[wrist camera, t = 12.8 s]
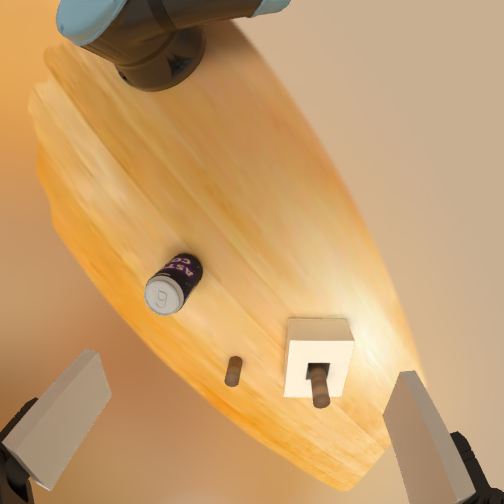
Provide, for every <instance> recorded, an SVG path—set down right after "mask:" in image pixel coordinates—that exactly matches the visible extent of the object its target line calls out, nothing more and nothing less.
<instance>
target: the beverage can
mask: <svg viewBox="0 0 504 504" xmlns="http://www.w3.org/2000/svg"><path fill="white" fill-rule="evenodd" d="M202 273H203V271H202V266H201V264H200V262H199V261H198V260H197V259H196V258H195V257H194V256H192V255H189V254H179V255H177V256H175V257H174V258H173V259H172V260H171V261H169V262H168V263H167V264H166V265H165V266H164V267H163V268H162V269H161V270H159V271H158V272H157V273H156V274H155V275H154V276H153V277H152V278H151V279H149V281H148V282H147V284H146V288H145V292H144V298H145V302H146V304H147V306H148V307H149V308H150V309H151V310H152V311H153V312H155V313H156V314H159V315H163V316H167V315H171V314H173V313H176V312H178V311H179V310H180V309H181V308H182V307H183V305H184V304H185V302H186V301H187V299H188V298H189V296H190V295H191V293H192V292H193V290H194V289H195V287H196V286H197V284H198V283H199V281H200V280H201V278H202Z"/></svg>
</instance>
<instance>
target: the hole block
mask: <svg viewBox="0 0 504 504" xmlns="http://www.w3.org/2000/svg"><path fill="white" fill-rule="evenodd" d="M354 342H355V340H354V337H353V335H352V333H351V330H350V328H349V325H348V323H347V321H346V319H307V318H289V319H288V331H287V342H286V353H285V363H284V397H313V396H312V387H311V378H310V370H309V363H323V365H324V371H325V376H326V381H327V387H328V392H329V397H341V394H342V391H343V387H344V383H345V379H346V376H347V372H348V368H349V364H350V360H351V355H352V351H353V347H354Z"/></svg>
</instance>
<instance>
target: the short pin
mask: <svg viewBox="0 0 504 504" xmlns="http://www.w3.org/2000/svg"><path fill="white" fill-rule="evenodd" d="M241 367H242V359H241V358H239V357H236V356H234V357H231V358H230V361H229V365H228V369H227V373H226V377H225V384H226V385H228V386H230V387H235V386H237V385H238V383H239V378H240V372H241Z"/></svg>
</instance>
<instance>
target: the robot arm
mask: <svg viewBox="0 0 504 504" xmlns="http://www.w3.org/2000/svg"><path fill="white" fill-rule="evenodd" d="M290 1H291V0H61V2H60V4H59V6H58V10H57V14H56V24H57V28H58V31H59V32H60V33H61V34H62V35H63V36H64V37H66V38H67V39H69V40H71V41H72V43H73V44H75V45H77V46H80V47H82V48H84V49H86V50H88V51H90V52H92V53H95V54H97V55H99V56H101V57H103V58H105V59H107V60H108V61H110V62H112V63H114V65H115V67H116V69H117V71H118V73H119V75H120V76H121V78H122V79H123V80H124V81H125V82H126V83H128V84H129V85H131V86H133V87H135V88H137V89H139V90H143V91H160V90H164V89H168V88H170V87H172V86H174V85H176V84H178V83H180V82H181V81H183V80H184V79H185V78H187V77H188V76H189V75H190V74H191V73H192V72H193V71H194V70H195V68H196V67H197V66H198V64H199V62H200V61H201V58H202V56H203V53H204V49H205V38H204V34H203V32H202V30H201V28H200V27H199V25H204V24H208V23H213V22H218V21H223V20H228V19H234V18H240V17H247V18H252V17H255V16H257V15H262V14H269V13H275V12H279V11H281V10H282V9H284V8H285V7H287V5H288V4H289V3H290ZM111 396H112V393H111V390H110V387H109V384H108V382H107V379H106V376H105V373H104V369H103V366H102V363H101V360H100V356H99V353H98V352H97V351H92V350H89V349H85V350H84V351H83V352H82V353H81V354H80V355H79V356H78V357H77V358H76V359H75V360H74V361H73V362H72V363H71V364H70V365H69V366H68V368H67V369H66V370H65V371H64V372H63V373H62V374H61V375H60V376H59V377H58V378H57V379H56V380H55V382H54V383H53V384H52V385H51V386H50V387H49V388H48V389H47V390H46V391H45V393H44V394H43V395H42V396H41V397H40V398H39V399H38V398H34V399H32V400H30V401H29V402H27V403H26V404H25V405H24V406H23V407H22V408H21V410H20V412H18V413H17V414H16V415H15V417H13V418H12V419H11V421H10V422H9V423H8V424H7V425H6V426H5V428H4V429H3V430H2V431H1V432H0V504H34V499H33V494H32V489H31V484H30V482H29V480H28V478H29V477H30V476H31V477H32V478H33V480H34V481H35V482H36V483H37V484H39V485H41V486H42V487H44V488H46V489H47V490H49V491H51V490H52V489H53V487H54V485H55V484H56V482H57V480H58V479H59V477H60V475H61V474H62V472H63V471H64V469H65V467H66V466H67V464H68V462H69V461H70V459H71V458H72V456H73V455H74V453H75V451H76V450H77V448H78V447H79V445H80V443H81V442H82V440H83V439H84V437H85V436H86V434H87V433H88V431H89V430H90V428H91V426H92V425H93V423H94V422H95V420H96V419H97V417H98V416H99V414H100V413H101V411H102V410H103V408H104V407H105V405H106V404H107V402H108V401H109V399H110V398H111ZM383 418H384V421H385V424H386V427H387V430H388V433H389V436H390V439H391V442H392V445H393V448H394V451H395V454H396V457H397V461H398V464H399V467H400V471H401V474H402V477H403V481H404V484H405V488H406V491H407V494H408V498H409V502H410V504H504V492H502V491H501V490H499V489H497V488H491V487H490V485H489V484H488V482H487V480H486V478H485V475H484V473H483V471H482V469H481V467H480V465H479V463H478V461H477V459H476V458H475V455H474V453H473V451H471V447H470V445H469V443H468V441H467V439H466V438H465V437H464V436H462V435H461V434H460V433H459V432H458V431H457V432H454V433H450V434H449V432H448V430H447V428H446V426H445V424H444V422H443V420H442V418H441V416H440V414H439V413H438V411H437V409H436V407H435V405H434V403H433V401H432V400H431V398H430V396H429V394H428V392H427V391H426V389H425V387H424V385H423V384H422V382H421V380H420V378H419V377H418V375H417V373H416V371H415V370H414V371H406V372H400V373H399V376H398V379H397V381H396V384H395V387H394V389H393V392H392V394H391V397H390V399H389V402H388V404H387V406H386V409H385V411H384V413H383Z"/></svg>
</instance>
